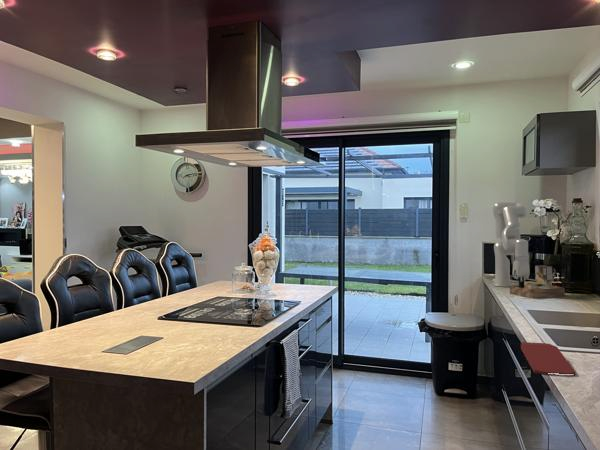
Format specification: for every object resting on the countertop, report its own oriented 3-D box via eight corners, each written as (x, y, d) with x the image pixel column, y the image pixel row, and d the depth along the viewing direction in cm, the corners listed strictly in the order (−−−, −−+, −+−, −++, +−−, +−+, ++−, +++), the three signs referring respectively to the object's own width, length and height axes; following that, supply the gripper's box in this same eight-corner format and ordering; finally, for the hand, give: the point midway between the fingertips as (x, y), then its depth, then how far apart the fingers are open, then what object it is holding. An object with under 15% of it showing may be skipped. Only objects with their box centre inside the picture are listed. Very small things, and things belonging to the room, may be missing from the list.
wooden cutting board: (509, 293, 296) (509, 286, 296) (540, 291, 304) (540, 283, 304) (532, 298, 279) (532, 290, 279) (564, 295, 287) (564, 287, 287)
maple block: (524, 288, 296) (524, 281, 296) (530, 287, 298) (530, 281, 298) (530, 289, 292) (530, 283, 292) (536, 288, 293) (536, 282, 293)
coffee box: (553, 290, 307) (553, 266, 307) (547, 291, 305) (547, 267, 304) (541, 288, 316) (541, 265, 315) (534, 289, 313) (534, 265, 313)
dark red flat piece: (575, 388, 147) (552, 353, 171) (576, 374, 147) (552, 341, 171) (535, 385, 150) (517, 351, 174) (535, 371, 149) (517, 339, 173)
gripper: (526, 258, 298) (526, 286, 298) (507, 259, 293) (507, 287, 294) (535, 259, 291) (535, 287, 291) (516, 260, 286) (516, 289, 286)
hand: (521, 287), depth 292 cm, fingers closed
